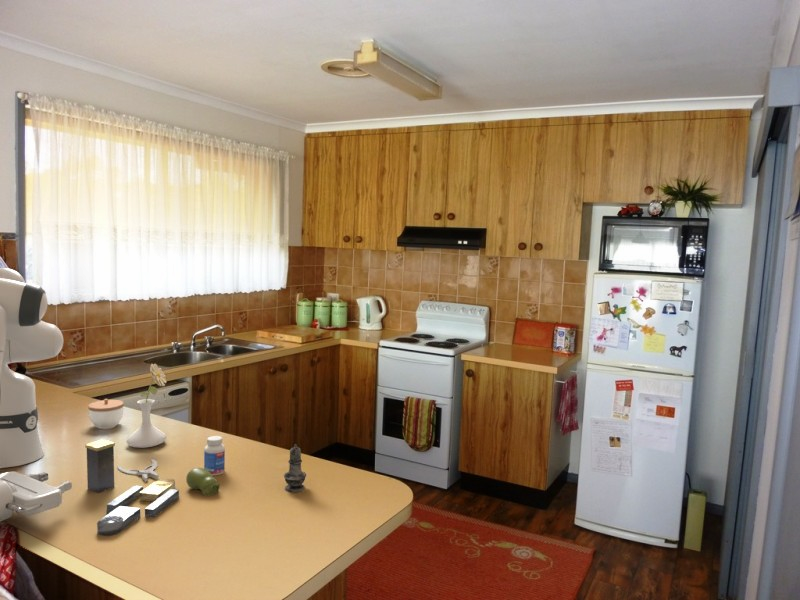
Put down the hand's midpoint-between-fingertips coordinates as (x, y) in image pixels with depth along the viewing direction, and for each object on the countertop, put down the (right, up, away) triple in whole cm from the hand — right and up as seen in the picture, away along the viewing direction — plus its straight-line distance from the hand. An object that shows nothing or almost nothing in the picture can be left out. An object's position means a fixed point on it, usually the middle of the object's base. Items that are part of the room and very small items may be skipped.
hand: (58, 479), depth 140 cm
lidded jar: (-17, 0, +58) cm, 60 cm away
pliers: (+11, -5, +21) cm, 24 cm away
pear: (+31, -6, +11) cm, 34 cm away
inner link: (+21, -6, +8) cm, 23 cm away
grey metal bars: (+19, -7, -3) cm, 21 cm away
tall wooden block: (+5, -5, +10) cm, 12 cm away
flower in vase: (+3, -2, +42) cm, 43 cm away
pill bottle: (+30, -5, +22) cm, 38 cm away
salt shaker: (+54, -6, +13) cm, 56 cm away
